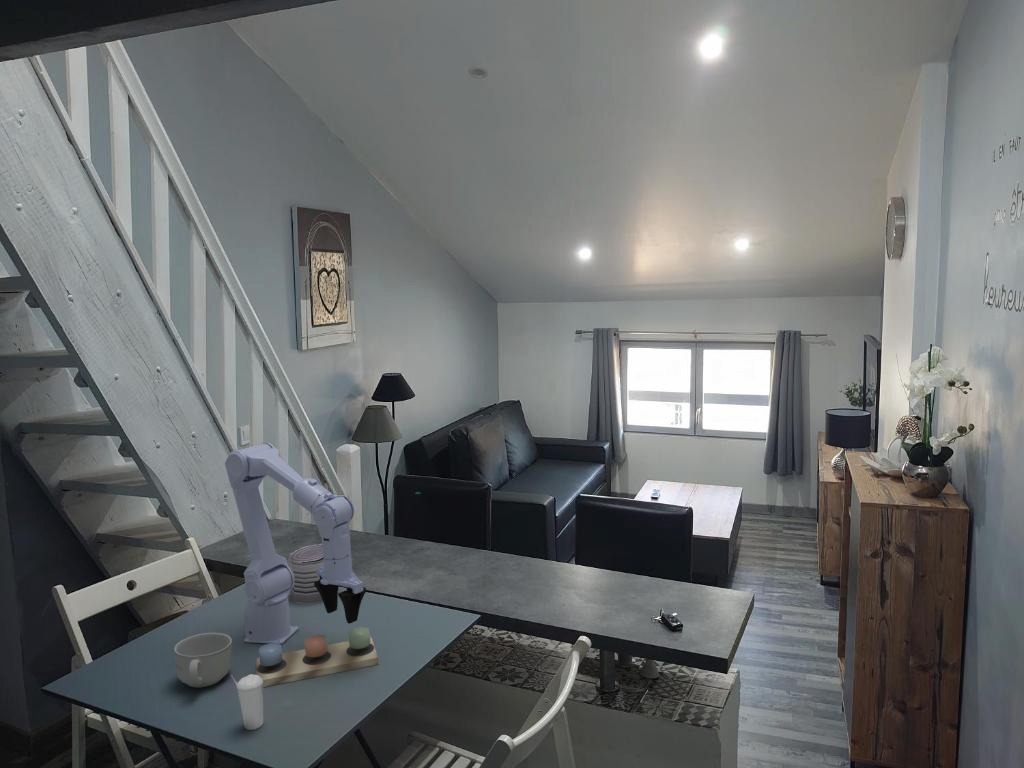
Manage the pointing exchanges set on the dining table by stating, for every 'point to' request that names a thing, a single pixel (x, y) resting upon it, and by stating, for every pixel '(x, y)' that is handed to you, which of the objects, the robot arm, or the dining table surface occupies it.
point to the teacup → (203, 659)
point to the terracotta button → (315, 646)
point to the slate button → (270, 654)
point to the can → (306, 574)
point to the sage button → (359, 637)
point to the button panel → (317, 663)
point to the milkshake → (251, 700)
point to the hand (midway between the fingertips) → (341, 616)
